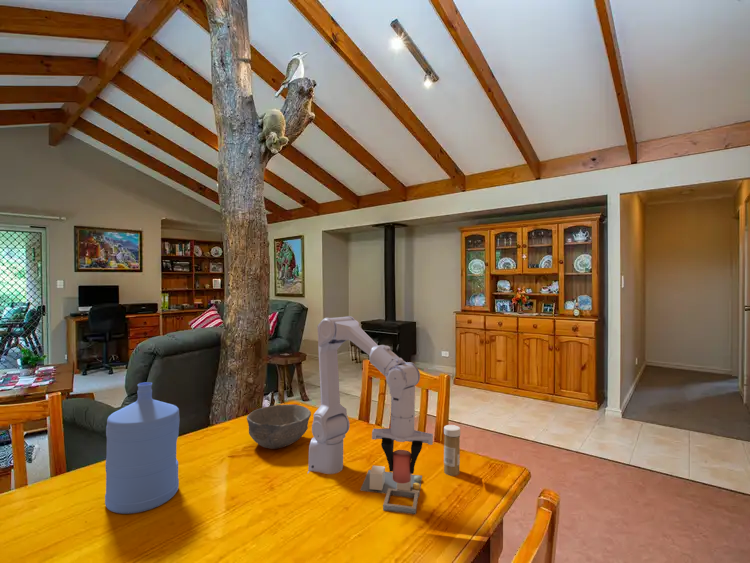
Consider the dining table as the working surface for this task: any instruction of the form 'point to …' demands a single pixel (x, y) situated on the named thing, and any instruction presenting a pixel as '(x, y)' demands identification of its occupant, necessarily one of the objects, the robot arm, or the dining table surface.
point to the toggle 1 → (377, 477)
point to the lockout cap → (401, 466)
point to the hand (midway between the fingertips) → (401, 470)
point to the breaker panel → (391, 483)
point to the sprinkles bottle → (451, 450)
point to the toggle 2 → (404, 486)
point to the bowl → (278, 425)
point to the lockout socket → (400, 507)
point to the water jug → (141, 454)
